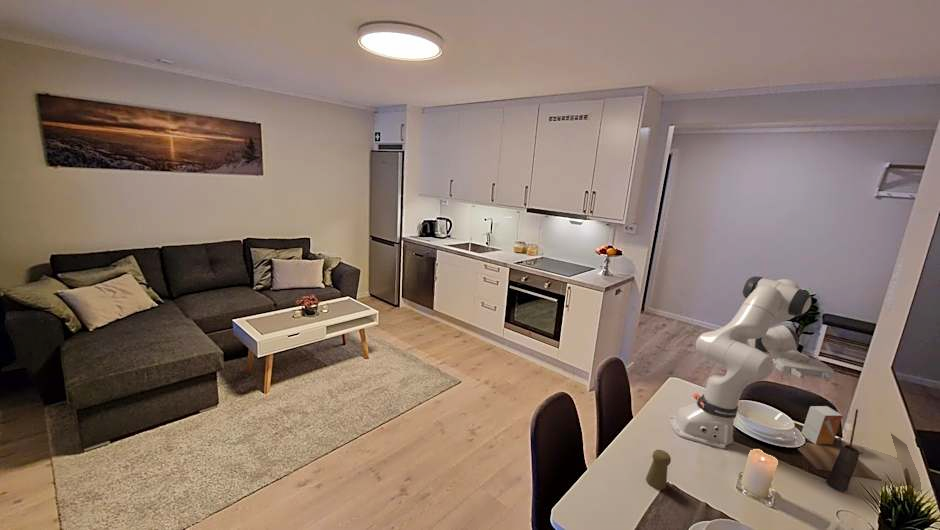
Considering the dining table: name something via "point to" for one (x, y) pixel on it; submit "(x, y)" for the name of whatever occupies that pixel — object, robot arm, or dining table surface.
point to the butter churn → (844, 465)
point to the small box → (821, 424)
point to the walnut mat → (832, 460)
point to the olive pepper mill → (658, 470)
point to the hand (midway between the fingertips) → (815, 378)
